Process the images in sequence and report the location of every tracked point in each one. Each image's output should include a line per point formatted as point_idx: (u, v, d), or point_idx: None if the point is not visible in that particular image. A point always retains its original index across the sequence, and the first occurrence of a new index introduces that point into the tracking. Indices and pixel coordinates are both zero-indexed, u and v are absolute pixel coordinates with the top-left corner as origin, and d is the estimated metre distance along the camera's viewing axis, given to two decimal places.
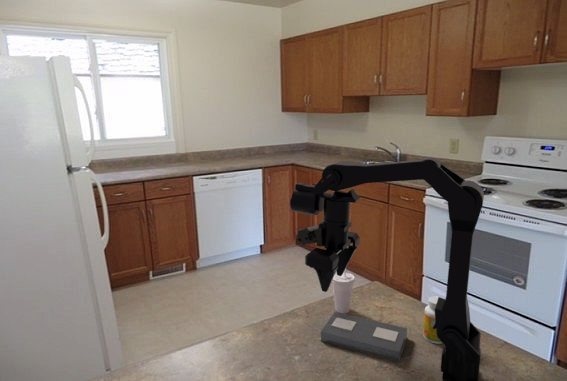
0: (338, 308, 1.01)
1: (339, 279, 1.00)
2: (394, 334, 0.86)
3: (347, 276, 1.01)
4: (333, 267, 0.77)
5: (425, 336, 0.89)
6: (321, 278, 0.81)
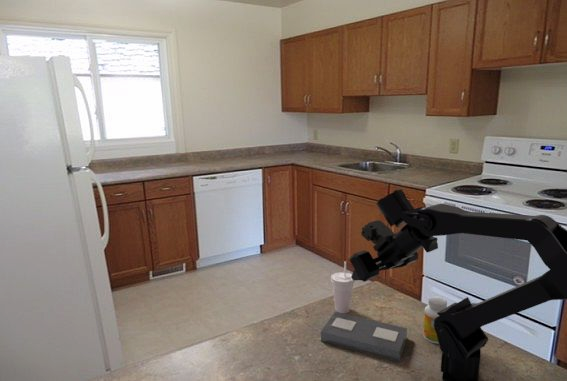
0: (338, 308, 1.01)
1: (339, 279, 1.00)
2: (394, 334, 0.86)
3: (347, 276, 1.01)
4: (367, 280, 0.82)
5: (425, 336, 0.89)
6: (356, 271, 0.88)
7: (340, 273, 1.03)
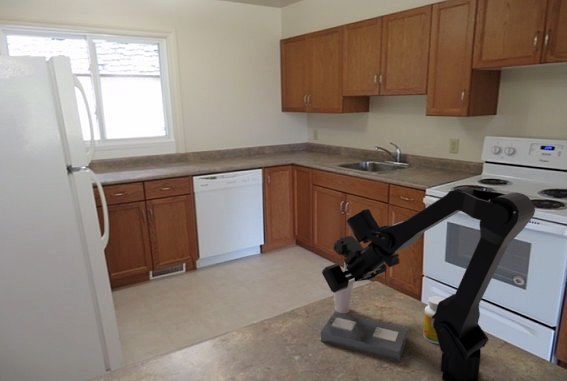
0: (338, 308, 1.01)
1: None
2: (394, 334, 0.86)
3: None
4: (336, 291, 0.91)
5: (425, 336, 0.89)
6: None
7: None
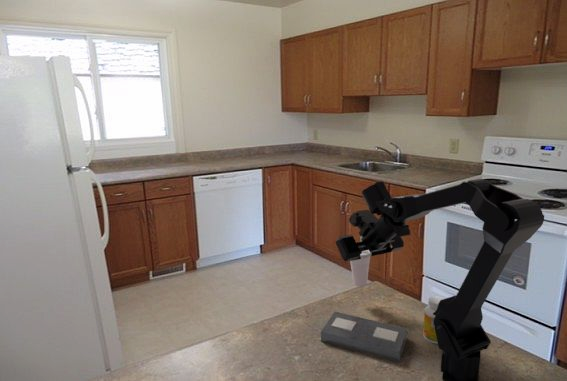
0: (355, 281, 1.04)
1: None
2: (394, 334, 0.86)
3: None
4: (348, 260, 0.94)
5: (425, 336, 0.89)
6: None
7: None
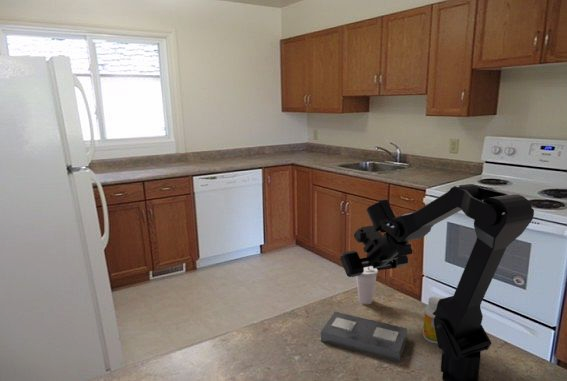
0: (360, 299, 1.06)
1: None
2: (394, 334, 0.86)
3: (370, 269, 1.05)
4: (352, 276, 0.96)
5: (425, 336, 0.89)
6: None
7: None
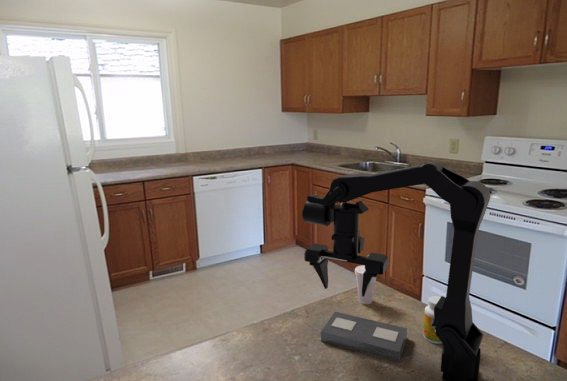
0: (360, 299, 1.06)
1: (362, 271, 1.04)
2: (394, 334, 0.86)
3: None
4: (307, 259, 0.89)
5: (425, 336, 0.89)
6: None
7: None
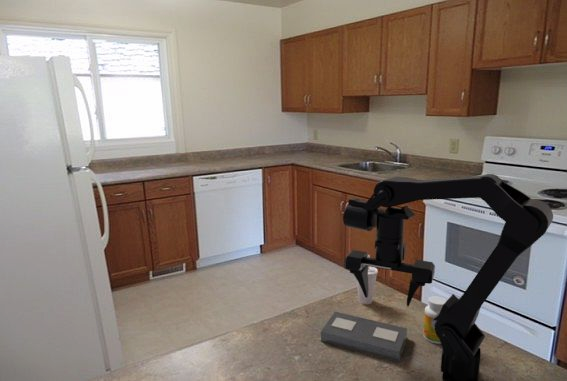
0: (360, 299, 1.06)
1: None
2: (394, 334, 0.86)
3: (370, 269, 1.05)
4: (348, 267, 0.84)
5: (425, 336, 0.89)
6: None
7: None
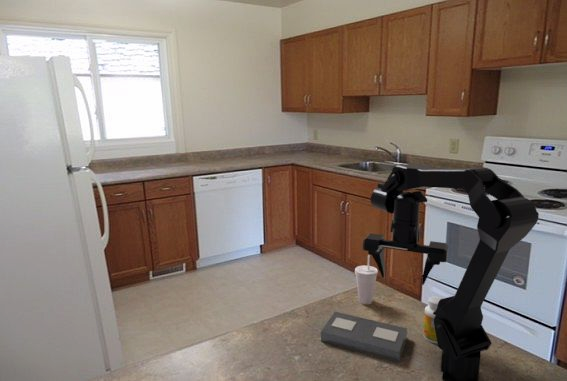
0: (360, 299, 1.06)
1: (362, 271, 1.04)
2: (394, 334, 0.86)
3: (370, 269, 1.05)
4: (366, 248, 0.90)
5: (425, 336, 0.89)
6: None
7: (365, 266, 1.08)
